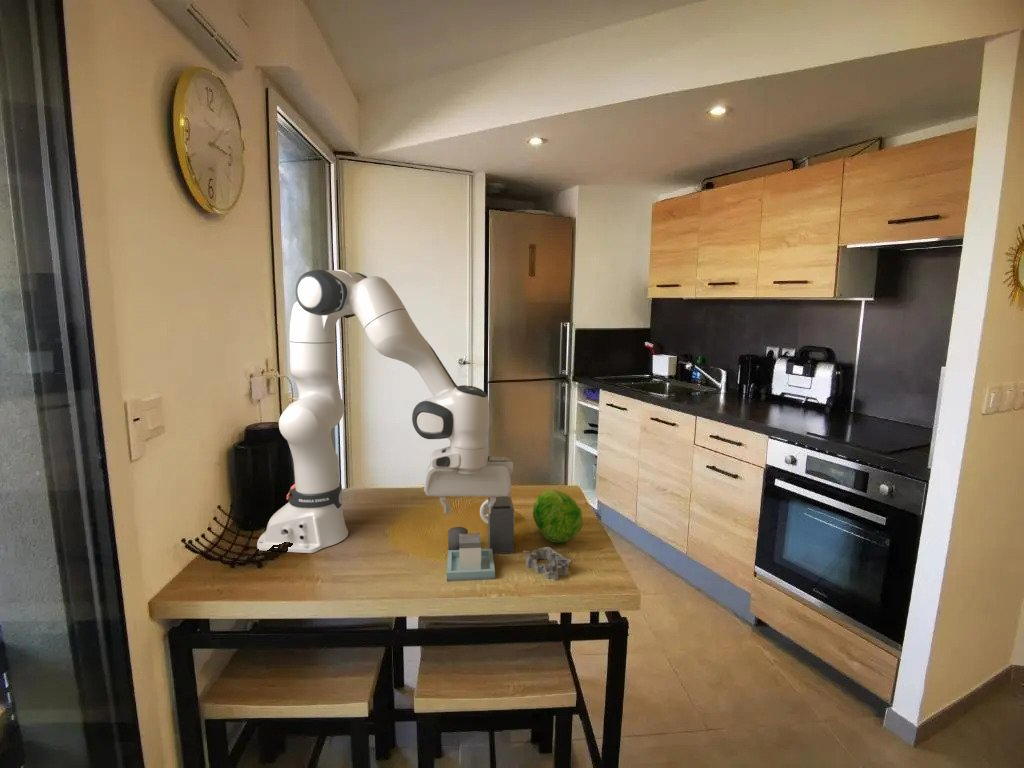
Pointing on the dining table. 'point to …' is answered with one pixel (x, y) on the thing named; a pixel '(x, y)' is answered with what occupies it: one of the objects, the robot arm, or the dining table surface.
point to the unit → (501, 526)
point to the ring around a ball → (482, 512)
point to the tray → (480, 574)
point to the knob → (455, 537)
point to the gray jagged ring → (548, 562)
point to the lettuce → (557, 516)
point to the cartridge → (469, 551)
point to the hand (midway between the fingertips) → (467, 512)
